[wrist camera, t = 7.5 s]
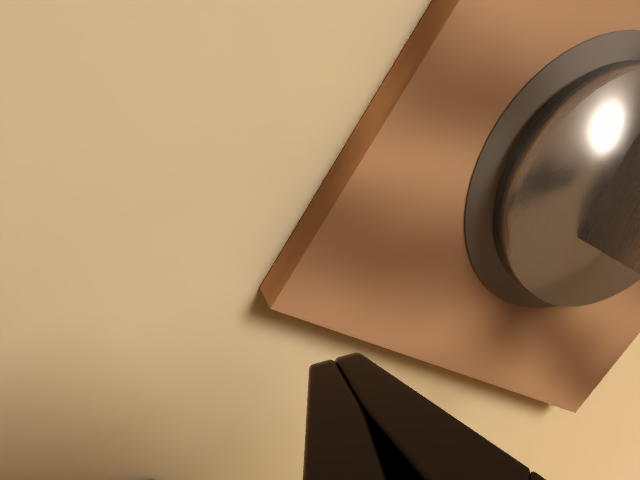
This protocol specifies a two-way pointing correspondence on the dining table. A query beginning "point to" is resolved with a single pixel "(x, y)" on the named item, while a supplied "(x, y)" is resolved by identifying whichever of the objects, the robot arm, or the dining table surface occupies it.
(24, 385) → the dining table surface
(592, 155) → the dial knob
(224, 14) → the dining table surface
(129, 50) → the dining table surface
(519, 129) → the dial plate
